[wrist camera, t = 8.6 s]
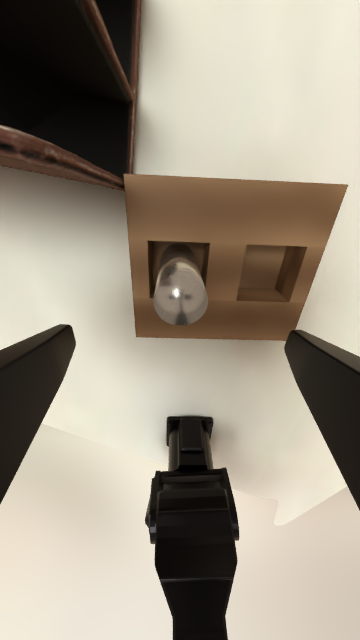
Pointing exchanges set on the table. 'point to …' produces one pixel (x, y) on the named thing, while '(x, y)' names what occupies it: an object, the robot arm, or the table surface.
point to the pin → (179, 287)
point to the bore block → (230, 249)
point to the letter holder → (69, 87)
